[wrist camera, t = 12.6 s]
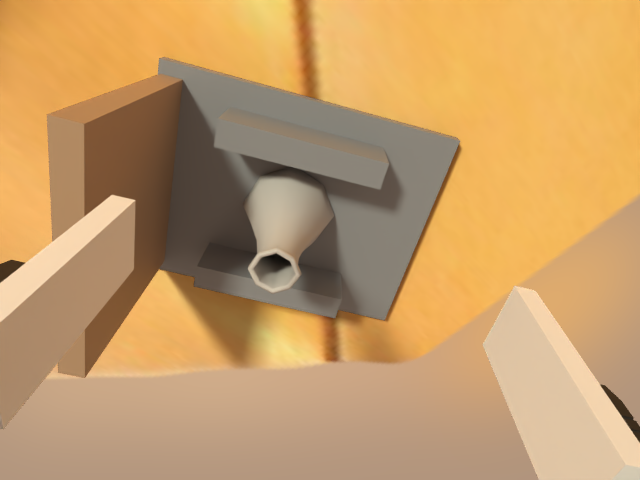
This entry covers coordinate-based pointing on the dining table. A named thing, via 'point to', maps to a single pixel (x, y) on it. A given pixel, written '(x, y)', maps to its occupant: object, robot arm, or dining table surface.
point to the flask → (284, 225)
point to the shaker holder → (241, 189)
